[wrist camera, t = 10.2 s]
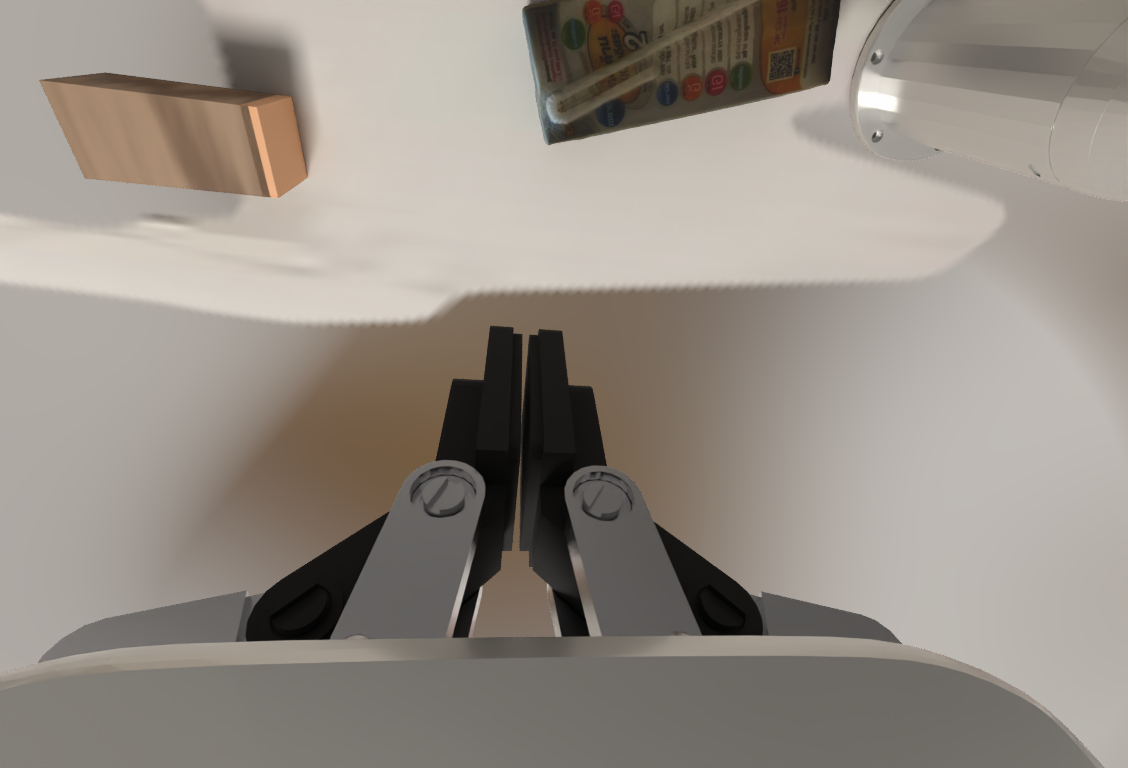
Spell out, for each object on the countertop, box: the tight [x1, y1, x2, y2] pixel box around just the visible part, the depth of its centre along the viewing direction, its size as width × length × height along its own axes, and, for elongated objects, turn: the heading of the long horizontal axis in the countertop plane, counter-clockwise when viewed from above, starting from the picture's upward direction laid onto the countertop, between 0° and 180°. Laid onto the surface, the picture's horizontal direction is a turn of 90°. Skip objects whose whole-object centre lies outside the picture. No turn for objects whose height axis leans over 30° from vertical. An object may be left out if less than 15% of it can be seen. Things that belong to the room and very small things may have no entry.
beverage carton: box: [522, 0, 841, 145], centre depth 31 cm, size 8×19×7 cm, turn 101°
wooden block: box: [39, 73, 308, 198], centre depth 32 cm, size 6×6×12 cm
